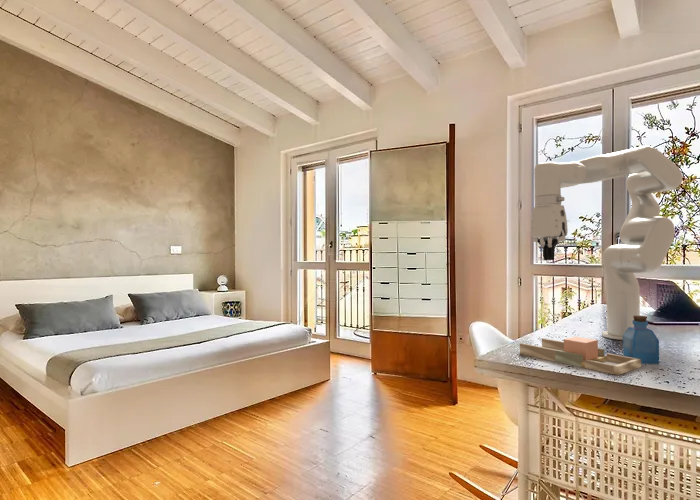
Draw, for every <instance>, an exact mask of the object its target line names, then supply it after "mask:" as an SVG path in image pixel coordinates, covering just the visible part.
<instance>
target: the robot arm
mask: <svg viewBox="0 0 700 500" xmlns="http://www.w3.org/2000/svg"><path fill="white" fill-rule="evenodd" d="M533 170H534V207H533V208H532V213H531V222H530V234H531V237H532V238H531V239H532V240H531V241H532V242H535V243H538V244H539V245H540V247H541V248H542V257H543V261H554V259H555V248H556V247H557V245H558V244H559V243H561V242H564V241H566V240H567V239H566V236H567V235H568V231H569V230H568V221H567V220H568V219H567V214H566V209H565V206H564V204H563V205H562V202H564V201H565V196H562V193H561V191H562V190H561V189H563V188H569V187H574V186H578V185H584V184H593V183H598V182H602V181H607V180H612V179H616V178H620V177H621V178H623V177H625V176H626V177H627V178H626V180H625V187H626V189H627V190H626V191H627V192H628V194H629V197H630V200H631V208H630V210H629V212H628V214H627V216H626V217H625V220H624V222H623V224H622V226H621V228H620V231H619V239H620V241H621V243H618V244H613V245H610V246H608V247H607V248H605V250H604V251H603V253H602V264H603V269H604V274H605V281H606V285H605V286H606V330H603V331H602V332H601V335H602V337H604V338H607V339H611V340H618V341H623V335H624V333H625V332H626V331H627V329H628V328H629V327H634V324H633V320H634V318H633V316H641V306H640V305H641V299H640V298H641V297H640V296H641V295H640V288H641V287H640V284H639V281H638V279H637V277H636V275H635V274H651V273H655V272H657V271H658V270H659V269H660V268H661V266H662V264H663V262H664V260H665V258H666V256H667V254H668V252H669V250H670V248H671V246H672V244H673V242H674V239H675V234H676V232H675V231H676V230H675V225H674V222H673V221H672V220H671V218H670V219H669V218H668V217H665V216H660V212H661V207H660V205H659V203H658V201H657V200H656V199H655V198H654V195H653V194H654V193H655V194H656V193H660V192H661V193H662V192H668V191H673V190H676V189H677V188H679V186H680V185H681V184H682V183H683V182H682V181H683V174H682V171H681V169H680V168H679V166H677V164H676V163H674V162H673V161H672V160H671V159H669V157H667V156H666V155H665V154H664V153H662V152H661V151H660V150H658V149H657V148H655V147H653V146H652V145H651V146H650V145H642V146H638V147H634V148H633V147H632V148H629V149H624V150H620V151H615V152H611V153H606V154H600V155H599V154H598V155H595V156H592V157H591V156H590V157H588V158H585V159H581V160H578V161H570V162H559V163H558V162H556V161H549V162H548V161H546V162H541V163H538V164H536V165H535V167H534V169H533Z"/></svg>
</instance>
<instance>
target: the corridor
mask: <svg viewBox="0 0 700 500" xmlns="http://www.w3.org/2000/svg"><path fill="white" fill-rule="evenodd" d="M519 355H522V356H523V355H525V356H529V357H533V358H539V359H543V360H547V361H551V362H556V363H560V364H566V365H569V366H570V365H571V366H575V367H578V368H579V367H580V368H583V369H589V370H591V371H593V370H594V371H597V372H603V373H606V374H612V375H616V376H619V375H622V374H625V373H628V372H630V371H633V370H636V369H640V368H642V363H641V359H637V358H632V357H626V356H623V355H619V354H615V353H609V352H608V353H606V355H605V348H601V347H598V358H594V359H591V360H585V361H584V362H583V355H581V354H576V353H571V352H565V351H564V341H562V340H561V341H560V340H555V339H550V338H545V337H544V338H541V346H539V345H534V344H528V343H524V342H523V343H522V342H520V343H519Z"/></svg>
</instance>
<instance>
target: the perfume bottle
mask: <svg viewBox="0 0 700 500" xmlns="http://www.w3.org/2000/svg"><path fill="white" fill-rule="evenodd" d="M633 318H634V320H633V324H634V327H629V328H628V329H627V331H626V332H625V333H624V335H623V340H622V345H623V346H622V347H623V348H622V349H623V350H622V352H623V355H622V356H626V357H632V358H637V359H641V364H645V365H646V364H650V365H651V364H653V365H660V340H659V339H658V337H657V336H656V334H655V332H654V330H653V329H650V328H648V327H647V326H649V321H648V320H647V319H648V316H646V315H640V316H633Z"/></svg>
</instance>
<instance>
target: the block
mask: <svg viewBox="0 0 700 500" xmlns="http://www.w3.org/2000/svg"><path fill="white" fill-rule="evenodd" d="M563 342H564V351H565V352H571V353H576V354H581V355H583V362H584V361H585V360H591V359H594V358H598V348H599V340H598V339H594V338H586V337H580V336H573V337H572V336H571V337H569V338H568V337H567V338H564V339H563Z"/></svg>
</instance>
